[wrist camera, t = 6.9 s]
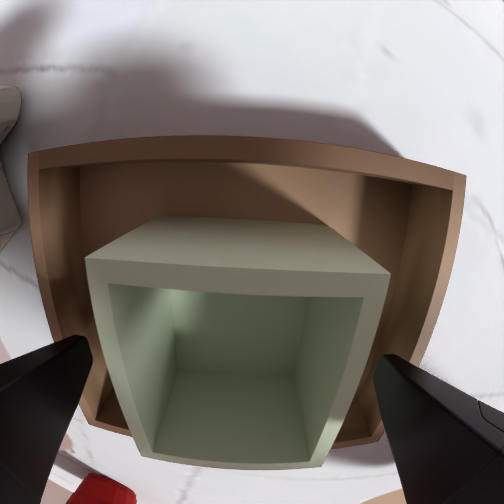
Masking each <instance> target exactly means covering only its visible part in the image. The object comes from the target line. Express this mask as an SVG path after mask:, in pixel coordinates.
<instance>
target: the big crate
mask: <svg viewBox="0 0 504 504" xmlns="http://www.w3.org/2000/svg"><path fill="white" fill-rule="evenodd" d="M465 187H466V175H463V174H460V173H457V172H454V171H450V170H447V169H443V168H440V167H436V166H433V165H429V164H425V163H421V162H417V161H413V160H409V159H405V158H401V157H396V156H392V155H387V154H382V153H377V152H372V151H367V150H361V149H355V148H349V147H343V146H337V145H330V144H322V143H315V142H306V141H297V140H287V139H275V138H262V137H244V136H159V137H141V138H128V139H117V140H107V141H99V142H91V143H83V144H77V145H70V146H64V147H58V148H53V149H47V150H42V151H37V152H33V153H28V207H29V221H30V232H31V240H32V248H33V255H34V262H35V268H36V273H37V278H38V283H39V288H40V293H41V297H42V301H43V305H44V309H45V313H46V317H47V320H48V324H49V327H50V331H51V334H52V337H53V340H54V343H55V342H57V341H60V340H62V339H65V338H67V337H69V336H72V335H75V334H77V335H81V336H85V337H86V338H87V339H88V342H89V346H90V349H91V353H92V356H93V365H92V368H91V370H90V373H89V376H88V378H87V381H86V384H85V387H84V390H83V393H82V396H81V398H80V401H79V403H78V404H79V406H80V408H81V410H82V412H83V414H84V416H85V418H86V420H87V422H88V424H90V425H93V426H96V427H99V428H102V429H105V430H109V431H112V432H115V433H119V434H123V435H127V436H131V437H133V436H132V434H131V432H130V429H129V427H128V425H127V422H126V420H125V417H124V415H123V412H122V409H121V407H120V404H119V401H118V398H117V396H116V393H115V390H114V387H113V384H112V381H111V378H110V374H109V371H108V368H107V364H106V361H105V357H104V354H103V350H102V346H101V342H100V338H99V334H98V330H97V326H96V321H95V317H94V312H93V307H92V302H91V296H90V290H89V284H88V278H87V271H86V263H85V257H87V256H88V255H90V254H92V253H93V252H95V251H97V250H98V249H100V248H102V247H104V246H105V245H107V244H109V243H110V242H112V241H114V240H116V239H118V238H119V237H121V236H123V235H125V234H127V233H128V232H130V231H132V230H134V229H136V228H137V227H139V226H141V225H143V224H145V223H147V222H149V221H151V220H153V219H154V218H156V217H158V216H181V217H209V218H232V219H252V220H269V221H286V222H301V223H315V224H327V225H328V226H330V227H331V228H332V229H334V230H335V231H336V232H338V233H339V234H340V235H342V236H343V237H344V238H346V239H347V240H348V241H350V242H351V243H352V244H354V245H355V246H356V247H358V248H359V249H360V250H361V251H363V252H364V253H365V254H367V255H368V256H369V257H370V258H372V259H373V260H374V261H376V262H377V263H378V264H379V265H381V266H382V267H383V268H384V269H386V270H387V271H388V272H389V273H390V274H391V276H390V281H389V285H388V289H387V294H386V298H385V302H384V306H383V310H382V313H381V317H380V321H379V324H378V328H377V331H376V334H375V338H374V341H373V344H372V347H371V350H370V354H369V357H368V360H367V363H366V365H365V368H364V371H363V374H362V377H361V379H360V382H359V385H358V387H357V390H356V392H355V395H354V398H353V400H352V402H351V405H350V407H349V410H348V412H347V414H346V417H345V419H344V421H343V423H342V426H341V428H340V430H339V432H338V434H337V436H336V439H335V441H334V443H333V445H332V447H331V449H336V448H343V447H350V446H356V445H362V444H368V443H373V442H378V441H379V439H380V438H381V436H382V435H383V433H384V431H385V429H384V426H383V422H382V419H381V415H380V410H379V405H378V401H377V397H376V392H375V388H374V384H373V375H374V372H375V369H376V367H377V364H378V361H379V359H380V357H381V356H382V355H383V354H396V355H397V356H399V357H401V358H403V359H404V360H406V361H408V362H410V363H412V364H413V365H415V366H417V367H419V365H420V362H421V360H422V358H423V355H424V353H425V351H426V348H427V346H428V343H429V340H430V338H431V335H432V333H433V330H434V327H435V324H436V321H437V318H438V315H439V312H440V309H441V306H442V303H443V300H444V296H445V293H446V290H447V286H448V282H449V279H450V275H451V271H452V267H453V262H454V258H455V253H456V248H457V243H458V238H459V233H460V227H461V220H462V214H463V206H464V197H465Z"/></svg>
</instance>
